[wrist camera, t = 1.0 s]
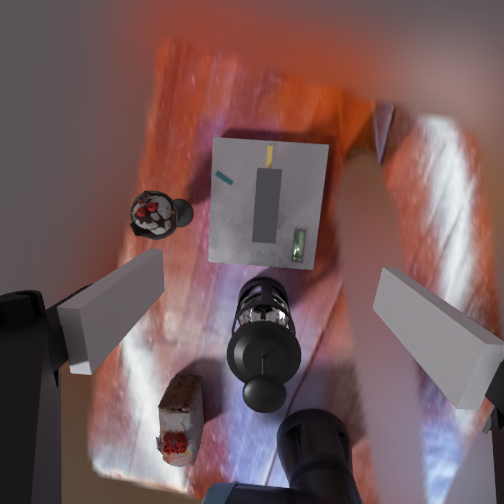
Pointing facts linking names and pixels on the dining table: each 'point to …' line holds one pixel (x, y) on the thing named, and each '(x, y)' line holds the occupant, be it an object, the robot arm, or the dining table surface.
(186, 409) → the food item
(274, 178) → the dark grey rectangular block
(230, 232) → the base
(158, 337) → the dining table surface
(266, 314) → the french press
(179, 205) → the sundae
